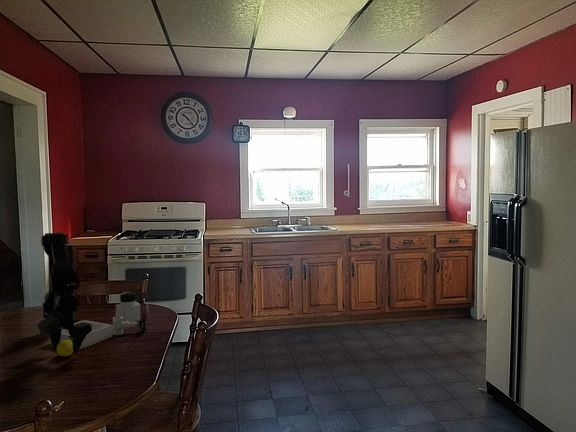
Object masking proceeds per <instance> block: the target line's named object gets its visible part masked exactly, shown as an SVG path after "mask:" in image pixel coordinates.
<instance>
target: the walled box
mask: <svg viewBox="0 0 576 432" xmlns="http://www.w3.org/2000/svg"><path fill="white" fill-rule="evenodd" d="M82 322H83V323H89V324H90V325H92V332H89V334H87V335H86V337H85V339H84V340H83V342H82V344H81V347H80V349H79V351H80V350H82V349H86V348H88V347H91V346H93V345H95V344H98V343H100V342H102V341H105V340H106V341H107V339H111V338H113V337H114V334H113V326H112V325H113V324H110V323H103V322H96V321H93V320H91V321H90V320H85V319H83V320H81V321H77V323H74V325H76V324H79V323H82ZM68 336H70V334H69V333H68V330H65V329H62V332H61V338H60V342H61V341H63V340H70V341H72V339H70V338H69V337H68ZM48 342H49V343H48V344H49V345H52V343H51V340H50V338H49V337H48Z"/></svg>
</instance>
